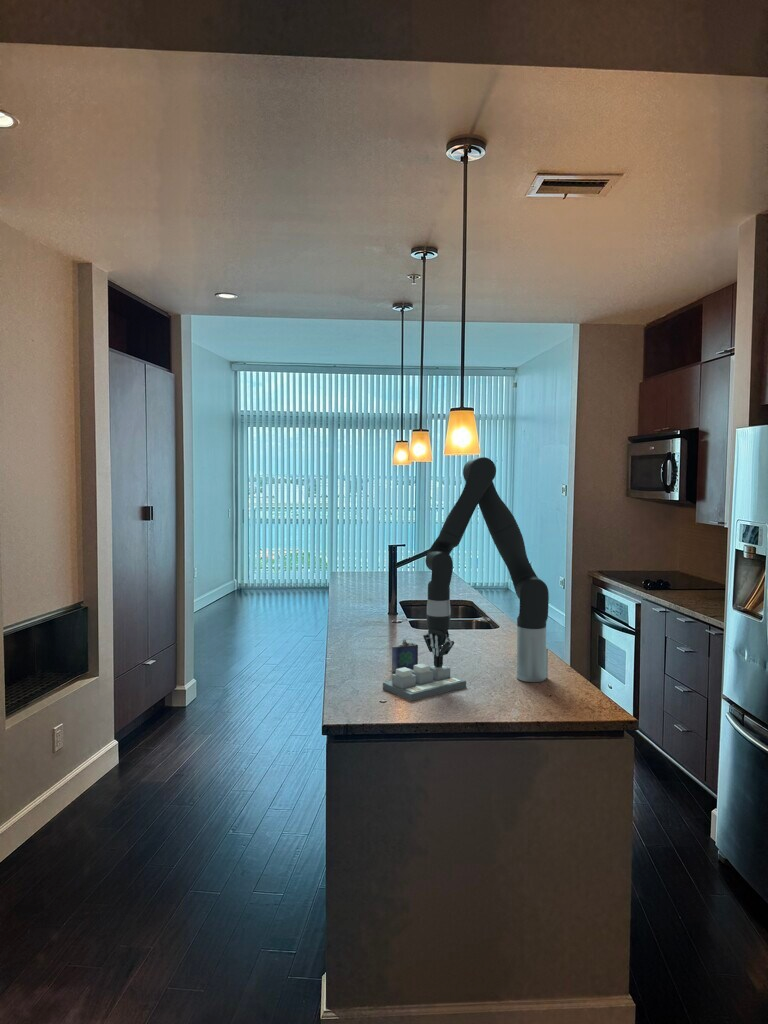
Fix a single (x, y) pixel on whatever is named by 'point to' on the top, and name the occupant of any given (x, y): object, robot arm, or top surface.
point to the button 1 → (403, 672)
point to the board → (424, 684)
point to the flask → (404, 656)
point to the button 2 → (438, 668)
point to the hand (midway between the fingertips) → (438, 666)
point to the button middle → (421, 668)
